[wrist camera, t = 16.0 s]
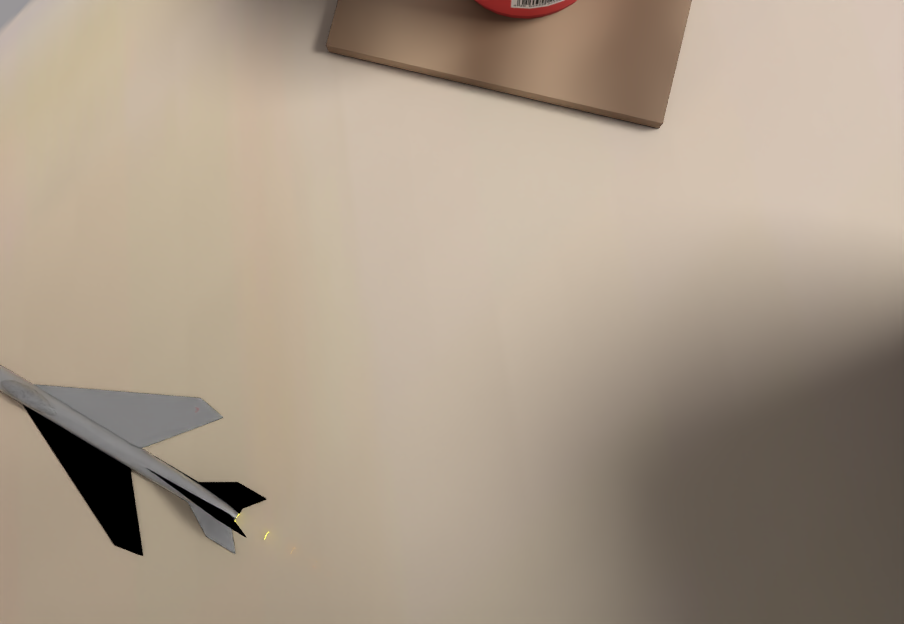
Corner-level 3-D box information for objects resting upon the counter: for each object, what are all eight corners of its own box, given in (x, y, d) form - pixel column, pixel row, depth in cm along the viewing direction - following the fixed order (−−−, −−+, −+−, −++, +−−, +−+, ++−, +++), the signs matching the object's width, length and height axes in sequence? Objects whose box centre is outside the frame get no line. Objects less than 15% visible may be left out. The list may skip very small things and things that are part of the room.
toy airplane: (-6, 275, 41) (-35, 268, 38) (373, 496, 39) (367, 503, 37) (-92, 416, 40) (-126, 418, 38) (289, 645, 39) (277, 662, 36)
